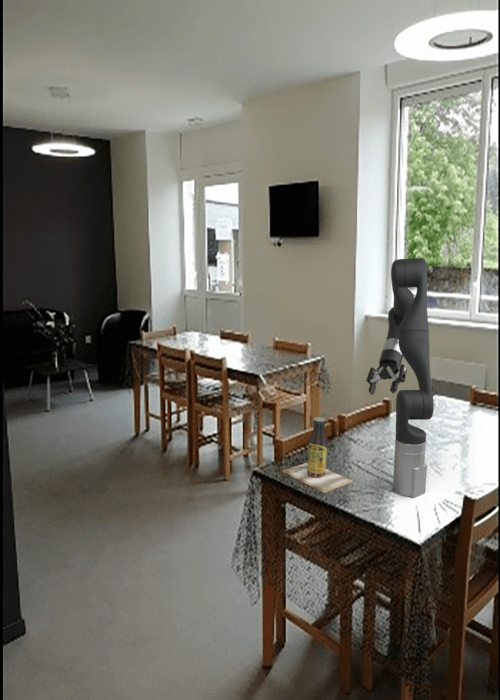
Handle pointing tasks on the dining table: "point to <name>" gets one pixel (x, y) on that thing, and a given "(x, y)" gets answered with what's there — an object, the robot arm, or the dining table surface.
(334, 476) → the notepad
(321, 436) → the sauce bottle
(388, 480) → the dining table surface
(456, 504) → the dining table surface
